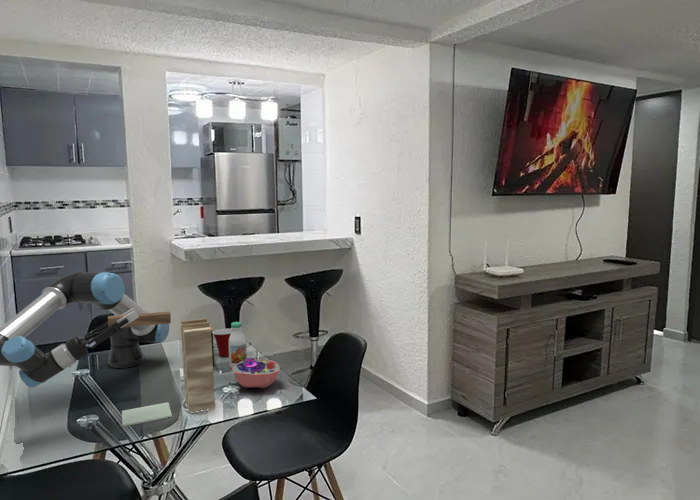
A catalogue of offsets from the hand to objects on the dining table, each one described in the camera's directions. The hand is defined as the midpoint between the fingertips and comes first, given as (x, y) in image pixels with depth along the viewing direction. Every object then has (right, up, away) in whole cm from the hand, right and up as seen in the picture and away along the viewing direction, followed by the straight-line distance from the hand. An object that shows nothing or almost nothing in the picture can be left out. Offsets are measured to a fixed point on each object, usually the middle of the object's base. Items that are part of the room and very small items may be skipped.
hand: (136, 312), depth 178 cm
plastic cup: (+15, -28, +66) cm, 73 cm away
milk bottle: (+24, -30, +51) cm, 64 cm away
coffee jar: (+9, -31, +48) cm, 58 cm away
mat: (+2, -37, +5) cm, 38 cm away
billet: (+1, -4, +1) cm, 5 cm away
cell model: (+37, -33, +29) cm, 58 cm away
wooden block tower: (+18, -36, +13) cm, 42 cm away
